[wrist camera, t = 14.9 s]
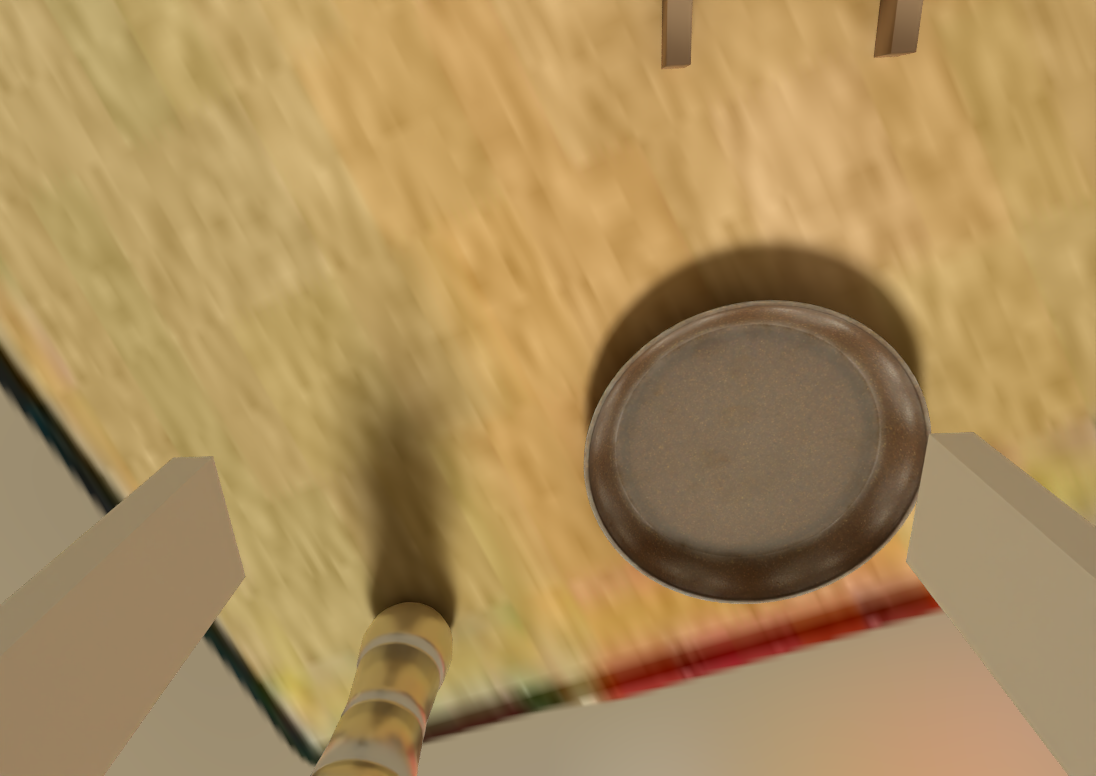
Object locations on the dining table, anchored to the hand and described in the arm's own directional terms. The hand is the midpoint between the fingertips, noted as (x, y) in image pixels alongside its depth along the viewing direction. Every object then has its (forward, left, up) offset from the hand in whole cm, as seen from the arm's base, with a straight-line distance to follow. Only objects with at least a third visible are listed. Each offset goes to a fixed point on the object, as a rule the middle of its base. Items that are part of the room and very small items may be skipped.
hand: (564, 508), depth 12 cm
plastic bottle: (+13, -27, -29) cm, 41 cm away
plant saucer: (+17, 0, -29) cm, 33 cm away
